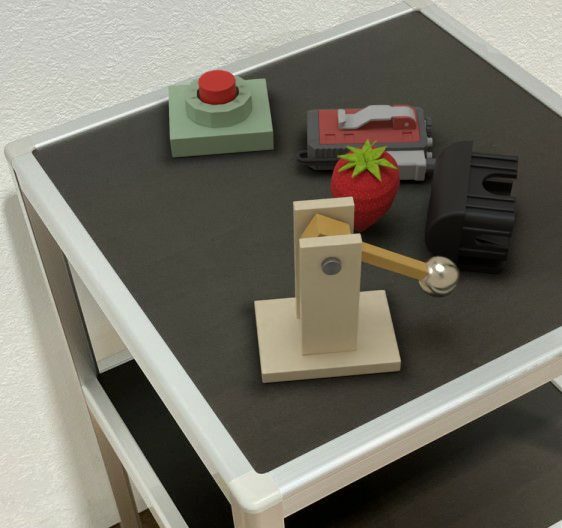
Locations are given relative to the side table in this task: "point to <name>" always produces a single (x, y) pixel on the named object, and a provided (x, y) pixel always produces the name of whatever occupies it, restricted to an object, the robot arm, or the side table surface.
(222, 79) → the button
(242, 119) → the button box
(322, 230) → the lever
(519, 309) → the side table surface
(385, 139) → the walkie-talkie
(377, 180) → the strawberry
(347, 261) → the bracket
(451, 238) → the end cap
